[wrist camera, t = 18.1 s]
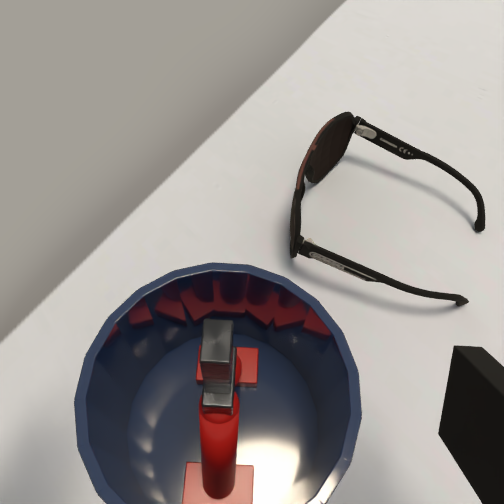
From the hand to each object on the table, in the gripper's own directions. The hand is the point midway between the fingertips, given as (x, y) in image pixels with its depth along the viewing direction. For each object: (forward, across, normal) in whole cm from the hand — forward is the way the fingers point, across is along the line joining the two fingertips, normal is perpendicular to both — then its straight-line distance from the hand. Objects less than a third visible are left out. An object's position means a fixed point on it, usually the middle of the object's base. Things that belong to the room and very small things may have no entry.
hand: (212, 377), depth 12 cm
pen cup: (+8, 0, -7) cm, 11 cm away
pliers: (+8, 0, -7) cm, 10 cm away
